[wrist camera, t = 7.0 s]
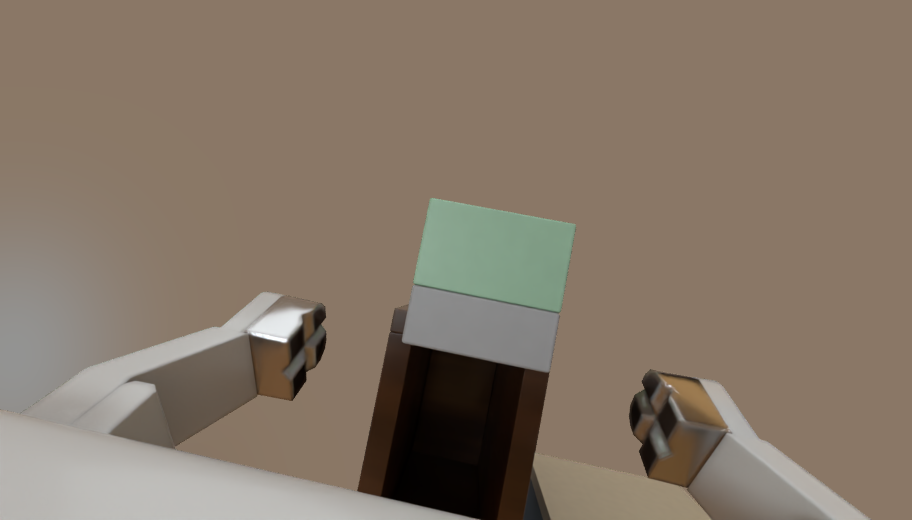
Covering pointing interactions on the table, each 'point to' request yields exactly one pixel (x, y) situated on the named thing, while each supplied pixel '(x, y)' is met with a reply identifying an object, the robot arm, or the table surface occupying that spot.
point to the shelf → (452, 431)
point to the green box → (489, 284)
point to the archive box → (602, 494)
